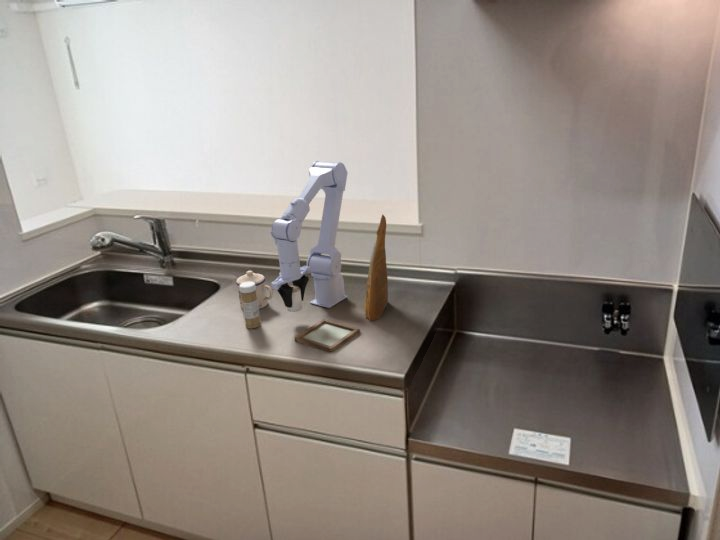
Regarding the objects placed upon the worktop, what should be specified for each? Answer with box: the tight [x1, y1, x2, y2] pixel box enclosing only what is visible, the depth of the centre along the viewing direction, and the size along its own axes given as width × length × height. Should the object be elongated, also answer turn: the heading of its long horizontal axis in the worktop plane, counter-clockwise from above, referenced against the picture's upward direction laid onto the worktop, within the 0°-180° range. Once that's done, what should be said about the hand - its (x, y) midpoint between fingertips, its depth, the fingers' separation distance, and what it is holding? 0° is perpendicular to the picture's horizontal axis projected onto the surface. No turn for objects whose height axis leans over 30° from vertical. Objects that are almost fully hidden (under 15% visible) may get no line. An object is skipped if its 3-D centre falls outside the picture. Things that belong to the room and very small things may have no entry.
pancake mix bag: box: [364, 213, 389, 322], centre depth 169 cm, size 7×19×28 cm, turn 165°
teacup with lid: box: [236, 270, 274, 310], centre depth 180 cm, size 12×9×12 cm
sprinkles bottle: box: [239, 282, 262, 329], centre depth 166 cm, size 5×5×14 cm
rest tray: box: [294, 318, 361, 353], centre depth 159 cm, size 13×13×1 cm
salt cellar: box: [286, 284, 303, 313], centre depth 166 cm, size 4×4×7 cm
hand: (294, 303), depth 167 cm, fingers closed on salt cellar, 4 cm apart
